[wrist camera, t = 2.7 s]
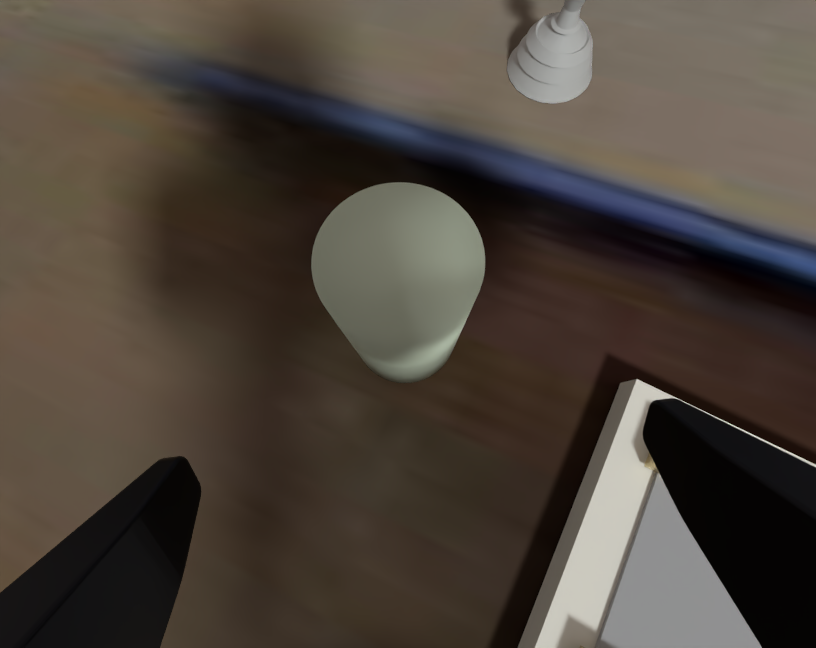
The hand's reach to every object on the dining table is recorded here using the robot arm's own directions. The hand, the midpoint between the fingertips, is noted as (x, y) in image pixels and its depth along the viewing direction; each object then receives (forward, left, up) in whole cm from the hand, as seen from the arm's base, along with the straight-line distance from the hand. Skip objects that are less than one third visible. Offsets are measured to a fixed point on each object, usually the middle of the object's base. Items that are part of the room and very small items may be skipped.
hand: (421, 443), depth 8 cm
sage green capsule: (+1, +5, -12) cm, 13 cm away
